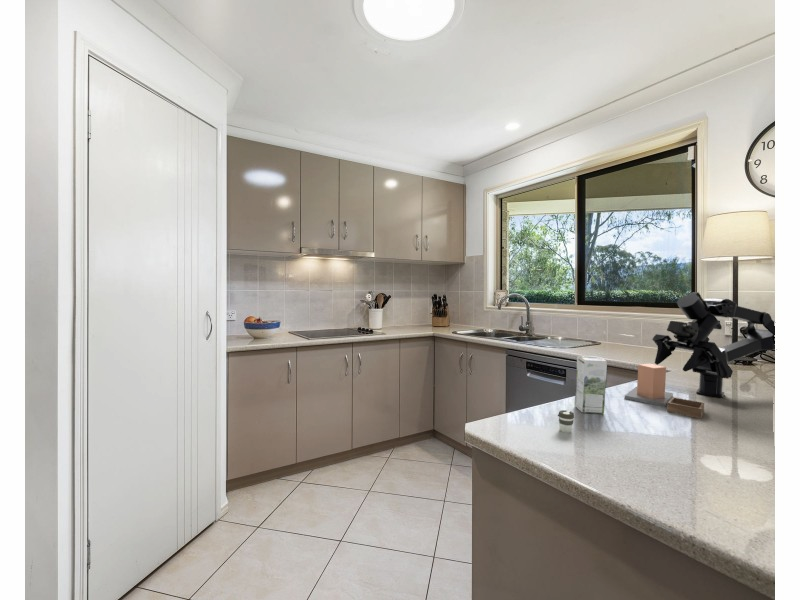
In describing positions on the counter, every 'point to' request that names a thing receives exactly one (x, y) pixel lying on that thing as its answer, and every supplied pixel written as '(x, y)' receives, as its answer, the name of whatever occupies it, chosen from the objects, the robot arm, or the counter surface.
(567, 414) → the coffee cup
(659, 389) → the terracotta block
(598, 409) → the syrup box
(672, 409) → the walnut holder
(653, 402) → the slate board
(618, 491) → the counter surface
